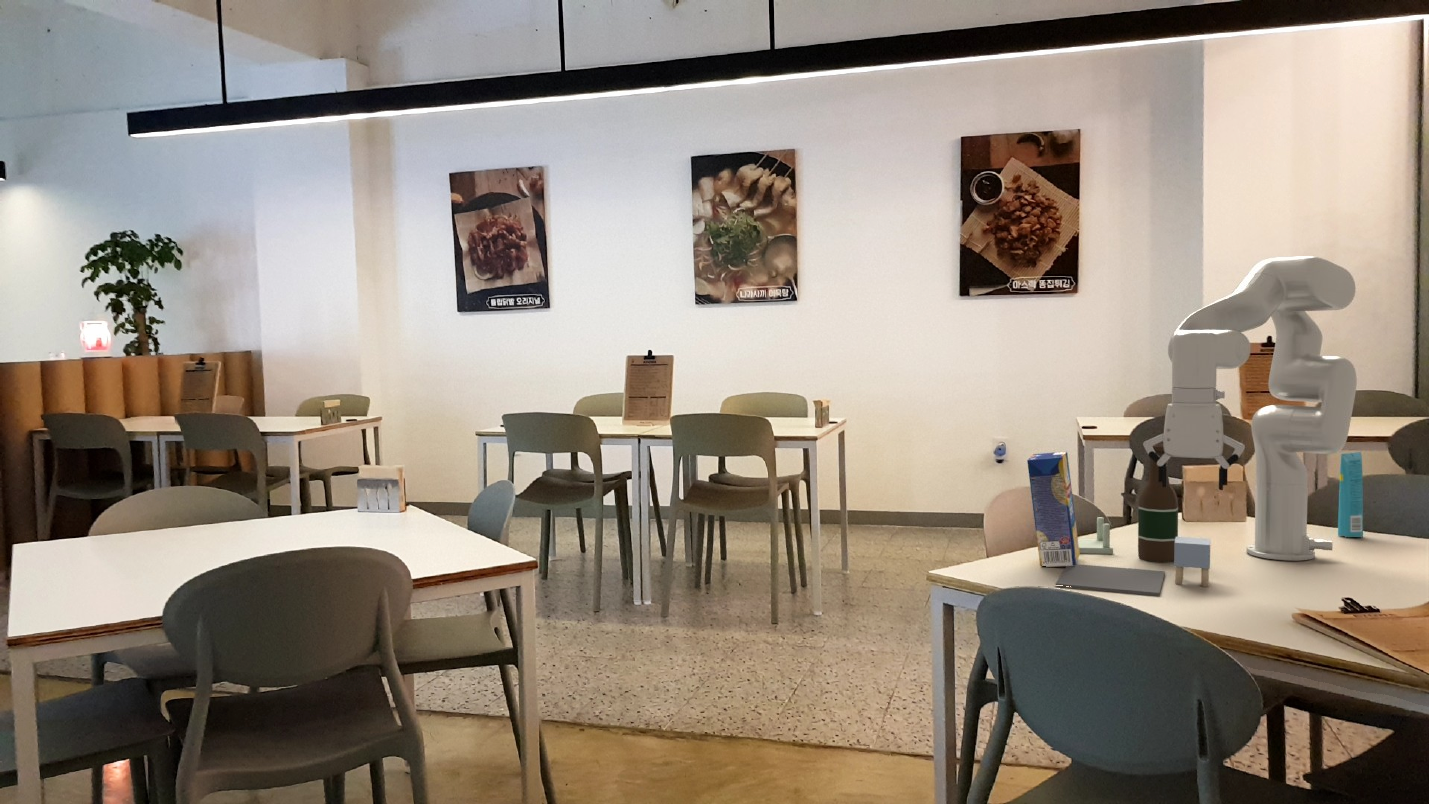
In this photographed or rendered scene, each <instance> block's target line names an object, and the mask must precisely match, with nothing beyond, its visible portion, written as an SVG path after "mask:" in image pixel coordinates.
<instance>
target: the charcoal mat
mask: <svg viewBox="0 0 1429 804" xmlns="http://www.w3.org/2000/svg"><path fill="white" fill-rule="evenodd" d="M1165 573H1166V572H1165V570H1155V569H1154V570H1152V569H1143V568H1142V569H1141V568H1130V567H1129V568H1128V567H1118V566H1117V567H1116V566H1114V567H1113V566H1106V565H1105V566H1103V565H1090V564H1080V563H1078V564H1077V563H1076V565H1075V566H1065V568H1064V570H1063V571H1062V573H1061V574H1060V575H1059V577H1058V579H1057V581H1056V582H1055V585H1063V586H1057V587H1056V588H1066V586H1069V587H1070V586H1071V587H1072V588H1071V589H1075V588H1080V589H1079V590H1088V591H1089V590H1090V591H1099V592H1107V593H1108V592H1111V593H1119V592H1120V593H1121V594H1132V595H1133V594H1134V595H1141V596H1142V595H1144V596H1151V597H1152V596H1155V597H1160V595H1161V591H1162V587H1163V583H1164V579H1165ZM1055 585H1054V586H1055ZM1066 589H1067V588H1066Z"/></svg>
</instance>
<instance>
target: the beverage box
mask: <svg viewBox="0 0 1429 804" xmlns="http://www.w3.org/2000/svg"><path fill="white" fill-rule="evenodd" d="M1026 460H1027V468H1028V476H1029V477H1028V478H1029V484H1030V485H1029V487H1030V492H1031V502H1032V503H1031V504H1032V511H1033V519H1034V525H1035V535H1036V541H1037V542H1036V543H1037V551H1038V558H1039V559H1038V560H1039V566H1046V567H1045V568H1048V567H1049V568H1050V567H1066V566H1075V565H1076V564H1077V563H1078V559H1079V557H1080V554H1081V553H1079V545H1078V538H1079V537H1078V531H1077V530H1078V529H1077V522H1076V514H1075V506H1074V498H1073V497H1074V496H1073V490H1072V481H1071V480H1072V479H1071V474H1070V473H1071V471H1070V465H1069V464H1070V463H1069V457H1068V451H1057V452H1056V451H1055V452H1044V453H1033V454H1032V455H1031V456H1030V457H1029V458H1028V459H1026Z"/></svg>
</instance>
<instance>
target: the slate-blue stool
mask: <svg viewBox="0 0 1429 804" xmlns="http://www.w3.org/2000/svg"><path fill="white" fill-rule="evenodd" d="M1210 566H1211V538H1202V537H1200V538H1199V537H1188V536H1187V537H1186V536H1178V537H1176V538H1175V543H1174V562H1173V567H1175V579H1174V580H1175V585H1179V586H1180V585H1181V586H1182V585H1183V580H1184V568H1193V569H1200V571H1201V572H1200V573H1201V574H1200V575H1201V577H1200V581H1201V582H1200V586H1201V587H1202V588H1208V587H1209V577H1210V576H1209V574H1210V568H1211V567H1210Z"/></svg>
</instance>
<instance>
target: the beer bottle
mask: <svg viewBox="0 0 1429 804" xmlns="http://www.w3.org/2000/svg"><path fill="white" fill-rule="evenodd" d="M1153 449H1154V451H1155V452H1156V453H1157V454H1158V455H1159V456H1160V457H1161V456H1162V455H1163V454H1164V447H1163V444H1162V443H1161V444H1160V443H1157V444H1155V445H1153ZM1168 464H1169V463H1168V461H1167V462H1166V466H1167V486H1166V487H1162V482H1159V481H1158V478H1159V466H1158V465H1157V464H1156V463H1155V462H1154V461H1153V460H1152V459H1151V458H1150V457H1149V471H1148V479H1147V484H1145V486H1144V488H1143V489H1142V490H1141V493H1140V494H1139V497H1138V507H1137V508H1138V510H1137V511H1138V512H1137V513H1138V514H1137V516H1138V518H1137V519H1138V521H1137V525H1138V526H1137V530H1138V531H1137V555H1138V558H1139V559H1141V560H1144V561H1146V562H1152V563H1160V562H1161V563H1162V564H1163V562H1164V563H1174V543H1175V538H1176V537H1179V500H1178V496H1177V493H1176V491H1175V489H1174V488H1173V486H1172V485H1171V484H1170V478H1169V467H1168V466H1169V465H1168Z"/></svg>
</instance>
